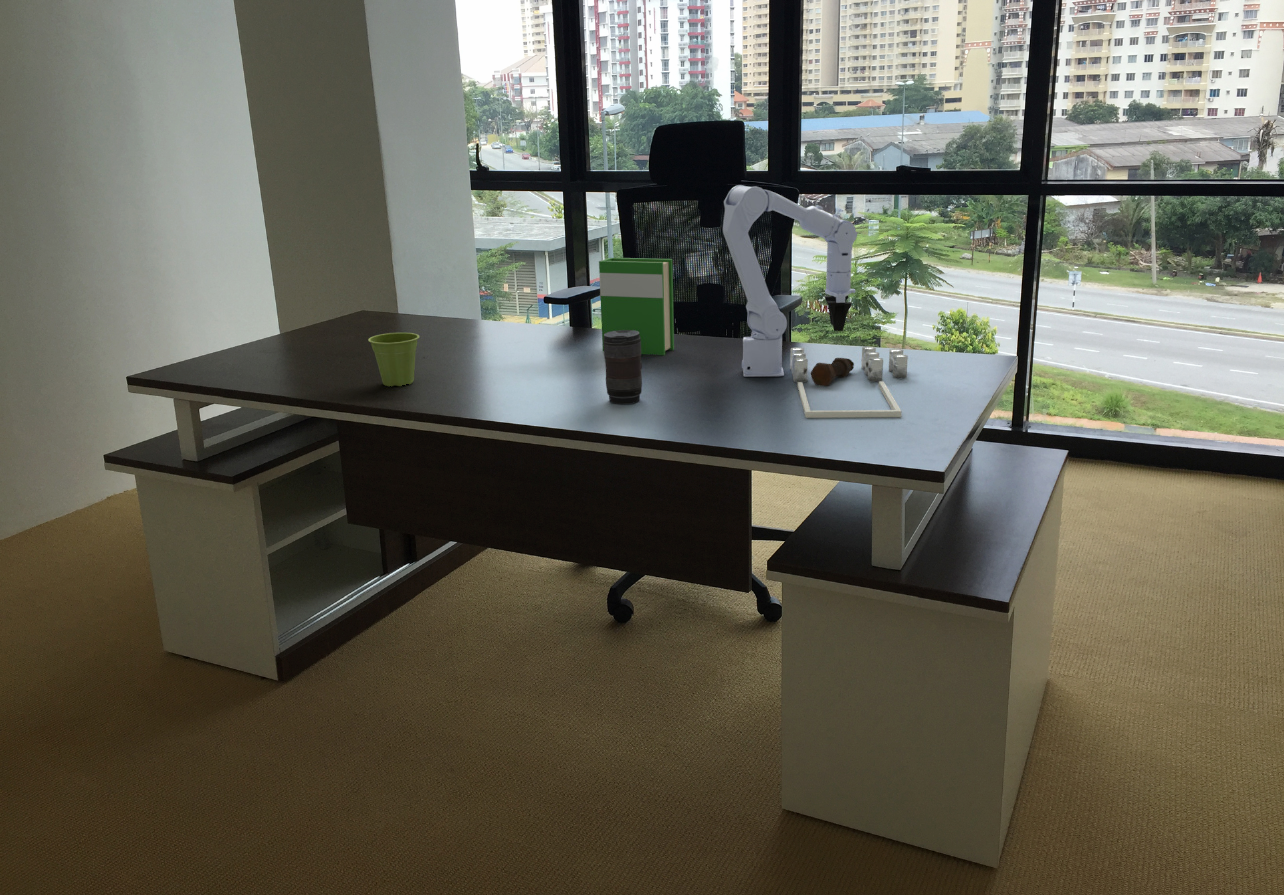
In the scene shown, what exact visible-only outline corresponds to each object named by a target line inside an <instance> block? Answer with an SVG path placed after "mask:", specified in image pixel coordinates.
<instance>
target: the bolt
mask: <svg viewBox="0 0 1284 895" xmlns="http://www.w3.org/2000/svg"><path fill="white" fill-rule="evenodd" d="M854 367H855V363H854V362H853V361H852V360H851V359H850V358H845V357H835V358H834V360H832V363H826V362H817V363H816V364H815V365H814V366H813V368H812V370H811V372H810V377H811V379H812V382H813V383H814V384H817V385H816V386H819V385H820V386H821V387H829V386H831V384H832V383H833V381H834V380H835V378H846V377H848V375H849V374H850V373H851V372H852V370H854Z"/></svg>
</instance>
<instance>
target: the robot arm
mask: <svg viewBox="0 0 1284 895" xmlns="http://www.w3.org/2000/svg"><path fill="white" fill-rule="evenodd" d="M723 206H724V216H723V223H722V234H723V237H724V238H725V242H726V244H727V248H728V250H729V254H730V255H731V258H732V259H731V260H732V261H733V264H734V267H735V269H736V272H737V275H738V277H739V280H740V282H741V286H742V289H743V291H744V294H745V297H746V300H747V303H746V305H745V308H746V312H747V313H746V314H747V315H746V316H747V320H746V321H747V325H748V327H749V329H751V335H750V336H743V338H742V360H741V368H742V371H743V372H742V374H743V375H742V376H743V377H745V378H746V377H748V378H749V377H784V376H785V373H784V369H783V367H782V363H783V361H782V360H783V357H782V356H783V347H782V346H783V334H785V332H786V329H787V326H788V321H787V317H786V315H785V314H784V313H783V312H781V311H780V308H779V307H778V306H779V305H778V304H777V303H776V301H775V300H774V298H772V296H771V294H770V291H769V288H768V286H767V283H766V280H765V278H764V275H763V272H762V269H761V266H760V264H759V260H758V258H757V256H756V255H757V254H756V252H755V250H754V247H753V243H752V241H751V238H750V235H749V231H750V229H751V227H752V225H753V224H754V222H756V221H757V219H759V217H760V216H761V215H763V213H764V212H771V211H774V212H775V213H776V212H777V213H779V214H781V215H783V216H787V217H789V218H791V219H794V220H796V221H798V223H799V227H801V229H802V230H804V231H806V232H809V233H810V234H813V235H814V236H817V237H820V238H822V239H824V241H825V242H826V243H827V248H826V250H827V251H826V275H825V276H826V280H825V281H826V283H825V289H824V292H825V294H826V295H824V299H825V301H826V304H827V309H828V313H829V321H830V324H831V326H832V328H833V331H834V332H843V331H844V328H845V325H846V319H847V316H848V312H849V310H850V309H851V307H852V304H853V302H851V301H847V300H848V299H849V295H851V294H855V293H856V289H855V288H851V280H852V278H851V277H852V254H853V253H852V251H853V245H854V242H855V241H856V240H857V238H858V237H857V236H858V232H857V230H856V227H855V226H854V223H852V222H851V221H850V220H845V219H840V215H838V214H836V213H833V214H831V213H829V212H827V211H825V210H824V207H823V206H821V205H818V204H816V205H810V206H808V207H804V206H802V205H800V204H798V203H795V202H794V201H792V200H790V199H788V198H786V197H784V196H783V195H782V194H781V195H780V194H778V193H776V192H773V191H771V190H768V189H763V188H762V187H759V186H746V185H742V184H738V185H735V186H733V187H732V188H731V189H730V190H729V191H728V193H727V195H726V197H725V199H724V200H723Z"/></svg>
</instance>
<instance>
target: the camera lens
mask: <svg viewBox="0 0 1284 895" xmlns="http://www.w3.org/2000/svg"><path fill="white" fill-rule="evenodd" d="M603 340H604V341H603V345H604V352H603V356H604V357H603V358H604V363H605V364H604V366H605V387H606V393H607V395H608V400H609V402H610V403H613V404H616V405H630V404H636V403H638V402H640V400H641V398H640V397H641V394H642V392H643V391H642V389H643V388H642V387H643V381H642V380H643V377H642V369H643V367H642V366H643V365H642V360H641V359H642V354H641V339H640V335H639V332H638V331H634V330H618V331H611V332H607V333H605V334H604V339H603Z"/></svg>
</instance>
